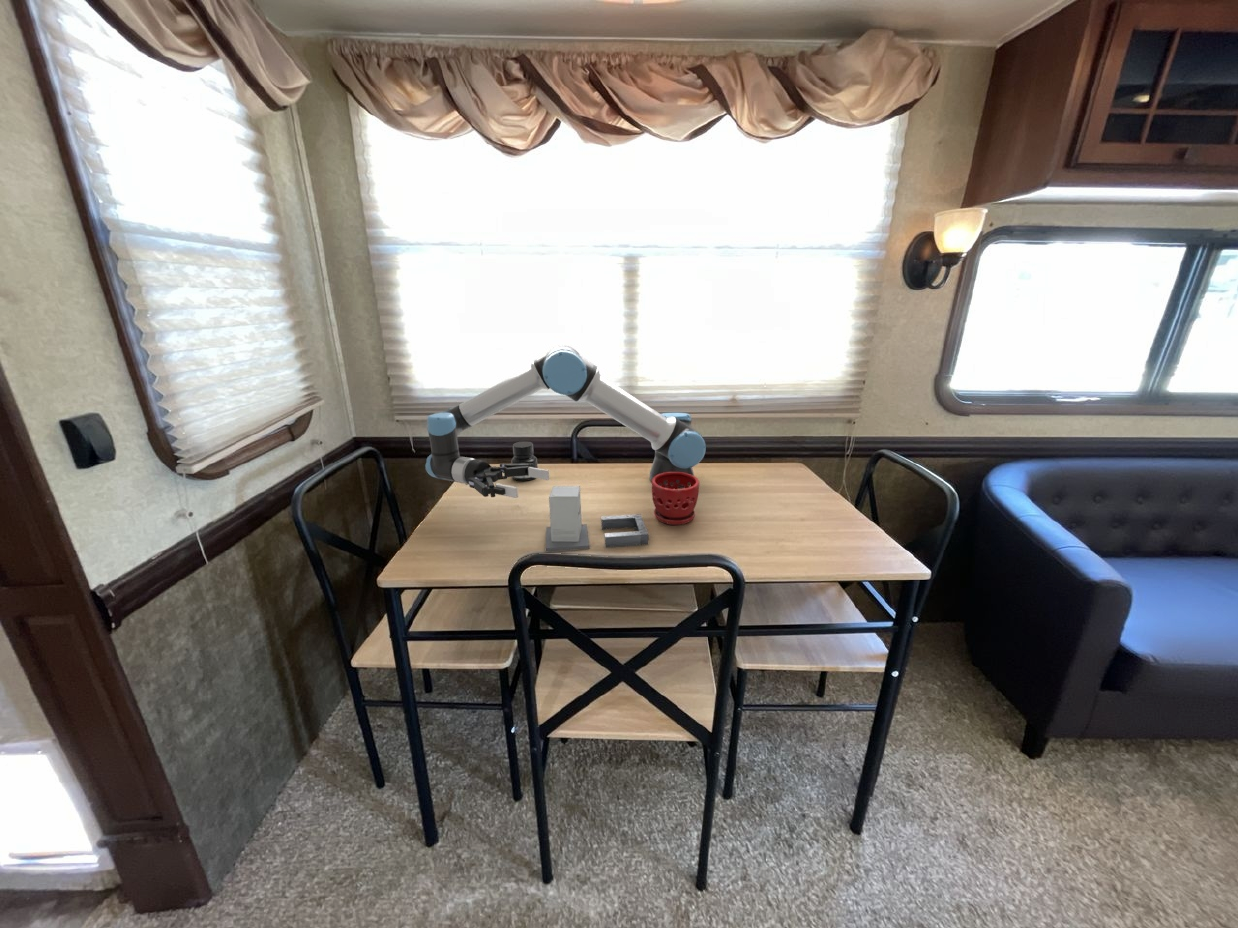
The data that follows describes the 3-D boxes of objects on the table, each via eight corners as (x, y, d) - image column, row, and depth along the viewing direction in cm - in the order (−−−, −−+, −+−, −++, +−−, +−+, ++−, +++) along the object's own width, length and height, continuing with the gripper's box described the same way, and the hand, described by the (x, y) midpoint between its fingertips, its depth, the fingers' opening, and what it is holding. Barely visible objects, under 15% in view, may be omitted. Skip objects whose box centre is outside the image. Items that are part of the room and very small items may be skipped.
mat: (586, 527, 135) (586, 524, 135) (589, 548, 124) (589, 545, 124) (546, 529, 134) (546, 526, 134) (545, 551, 123) (545, 548, 123)
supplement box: (579, 542, 125) (577, 496, 121) (550, 542, 126) (547, 496, 121) (582, 528, 132) (580, 485, 128) (555, 528, 132) (552, 485, 128)
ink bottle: (506, 478, 171) (503, 445, 167) (522, 470, 178) (519, 439, 174) (528, 483, 167) (526, 449, 163) (544, 475, 174) (542, 442, 170)
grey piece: (640, 523, 137) (640, 514, 136) (648, 544, 126) (648, 534, 125) (601, 526, 136) (601, 516, 135) (605, 547, 125) (605, 537, 124)
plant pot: (643, 513, 143) (643, 475, 139) (682, 505, 148) (684, 468, 144) (664, 532, 132) (665, 491, 128) (706, 523, 137) (708, 483, 133)
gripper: (503, 470, 151) (560, 480, 141) (440, 500, 130) (503, 515, 121) (500, 447, 148) (559, 456, 139) (436, 473, 128) (500, 486, 118)
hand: (533, 483), depth 130 cm, fingers open, 13 cm apart
